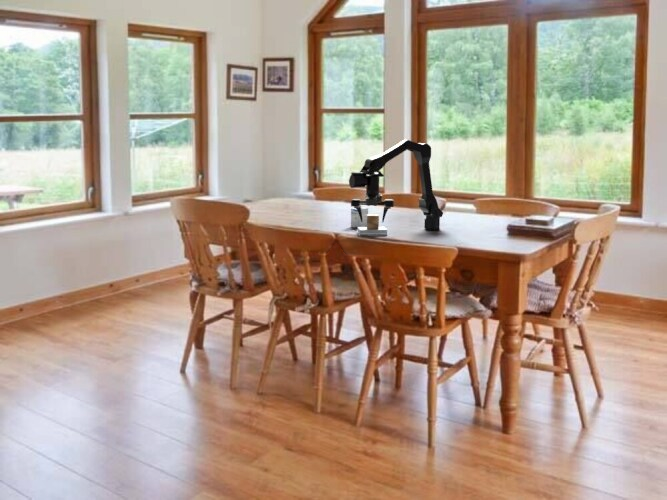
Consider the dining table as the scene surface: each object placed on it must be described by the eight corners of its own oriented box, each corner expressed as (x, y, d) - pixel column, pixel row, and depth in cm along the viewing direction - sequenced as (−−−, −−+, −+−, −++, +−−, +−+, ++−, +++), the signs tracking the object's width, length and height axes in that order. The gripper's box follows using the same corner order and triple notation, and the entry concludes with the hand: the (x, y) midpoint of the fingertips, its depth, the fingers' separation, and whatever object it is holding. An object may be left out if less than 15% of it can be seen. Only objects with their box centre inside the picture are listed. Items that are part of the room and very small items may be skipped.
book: (384, 233, 346) (384, 226, 345) (387, 236, 337) (387, 229, 336) (357, 233, 345) (357, 227, 344) (359, 236, 336) (359, 230, 335)
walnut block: (378, 227, 342) (379, 214, 341) (378, 229, 337) (378, 215, 336) (367, 227, 343) (367, 214, 341) (366, 229, 338) (367, 215, 337)
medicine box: (360, 225, 366) (360, 207, 364) (368, 226, 363) (368, 207, 361) (350, 227, 360) (350, 208, 358) (358, 228, 357) (358, 209, 355)
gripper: (350, 188, 329) (350, 224, 332) (393, 189, 328) (393, 225, 331) (352, 186, 340) (351, 221, 343) (394, 186, 339) (393, 221, 341)
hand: (372, 222), depth 339 cm, fingers open, 9 cm apart
